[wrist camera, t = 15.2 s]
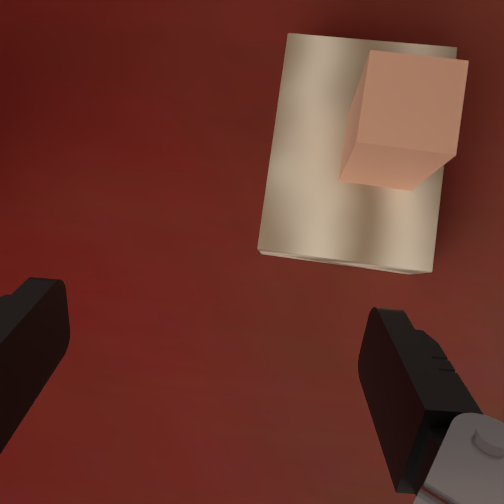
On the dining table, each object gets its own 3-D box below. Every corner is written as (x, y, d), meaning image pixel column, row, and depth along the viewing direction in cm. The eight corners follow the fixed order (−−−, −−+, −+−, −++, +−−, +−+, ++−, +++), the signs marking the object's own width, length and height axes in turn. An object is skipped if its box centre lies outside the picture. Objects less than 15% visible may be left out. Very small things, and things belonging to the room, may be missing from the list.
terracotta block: (338, 180, 30) (356, 142, 22) (348, 112, 30) (370, 49, 22) (410, 191, 29) (455, 155, 21) (420, 121, 30) (468, 60, 22)
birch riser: (261, 254, 35) (257, 248, 30) (287, 68, 36) (288, 33, 31) (410, 274, 34) (431, 272, 29) (433, 81, 35) (457, 47, 30)
